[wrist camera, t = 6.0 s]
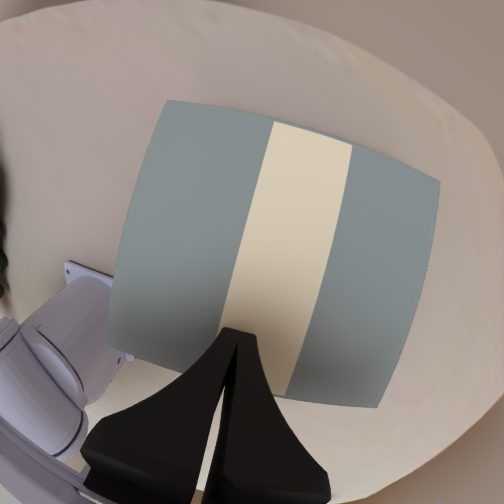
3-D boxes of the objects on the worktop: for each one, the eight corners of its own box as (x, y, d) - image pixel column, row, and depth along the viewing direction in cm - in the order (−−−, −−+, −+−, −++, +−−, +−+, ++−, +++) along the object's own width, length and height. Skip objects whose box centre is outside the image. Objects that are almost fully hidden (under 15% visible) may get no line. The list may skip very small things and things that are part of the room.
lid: (372, 402, 12) (377, 409, 11) (110, 340, 12) (103, 344, 11) (433, 183, 12) (441, 181, 11) (170, 105, 11) (166, 98, 11)
